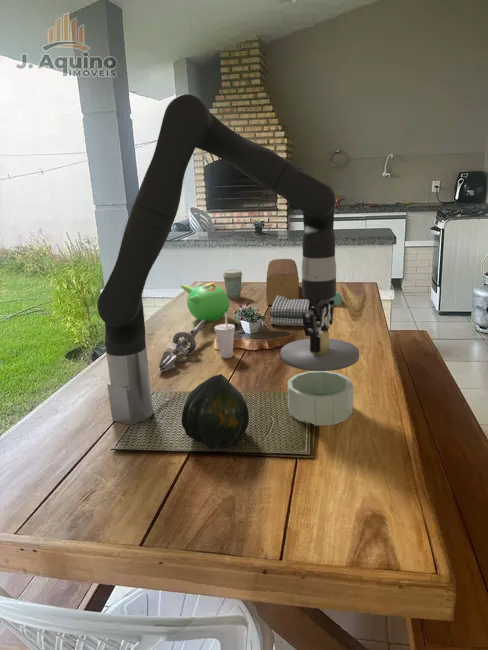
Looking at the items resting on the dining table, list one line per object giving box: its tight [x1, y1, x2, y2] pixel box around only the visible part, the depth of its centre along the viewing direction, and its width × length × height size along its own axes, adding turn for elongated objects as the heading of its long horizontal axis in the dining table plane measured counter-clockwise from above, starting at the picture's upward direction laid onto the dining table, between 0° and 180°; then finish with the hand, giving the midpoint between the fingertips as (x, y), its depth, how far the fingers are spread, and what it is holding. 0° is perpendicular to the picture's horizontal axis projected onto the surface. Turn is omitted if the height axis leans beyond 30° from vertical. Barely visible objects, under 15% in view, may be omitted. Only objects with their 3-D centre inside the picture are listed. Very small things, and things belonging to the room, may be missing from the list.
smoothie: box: [214, 312, 236, 359], centre depth 159 cm, size 6×6×14 cm
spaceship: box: [157, 320, 207, 372], centre depth 163 cm, size 8×35×8 cm
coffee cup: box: [222, 269, 243, 300], centre depth 228 cm, size 8×8×12 cm
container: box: [332, 289, 343, 307], centre depth 221 cm, size 6×6×25 cm
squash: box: [180, 373, 250, 450], centre depth 112 cm, size 14×15×15 cm
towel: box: [269, 295, 309, 327], centre depth 193 cm, size 15×18×8 cm
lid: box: [280, 330, 360, 372], centre depth 119 cm, size 18×18×6 cm
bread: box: [265, 258, 301, 306], centre depth 227 cm, size 14×34×14 cm, turn 176°
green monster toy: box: [180, 281, 230, 322], centre depth 197 cm, size 18×17×15 cm
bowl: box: [287, 370, 354, 427], centre depth 123 cm, size 15×15×7 cm
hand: (319, 348), depth 119 cm, fingers closed on lid, 4 cm apart
